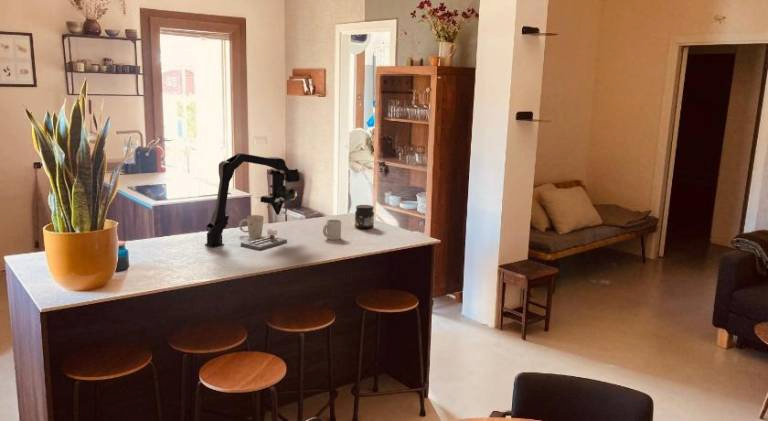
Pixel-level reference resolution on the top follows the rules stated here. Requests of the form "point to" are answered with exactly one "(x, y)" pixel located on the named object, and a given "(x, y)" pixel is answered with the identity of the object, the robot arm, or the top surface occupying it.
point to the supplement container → (364, 217)
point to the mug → (253, 225)
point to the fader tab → (272, 233)
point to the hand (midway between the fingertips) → (277, 214)
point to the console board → (263, 242)
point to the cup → (332, 229)
